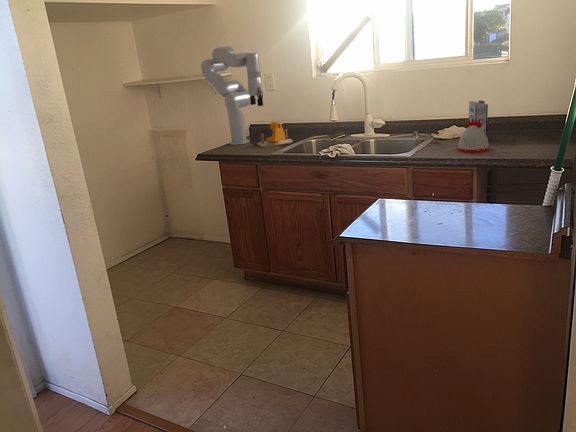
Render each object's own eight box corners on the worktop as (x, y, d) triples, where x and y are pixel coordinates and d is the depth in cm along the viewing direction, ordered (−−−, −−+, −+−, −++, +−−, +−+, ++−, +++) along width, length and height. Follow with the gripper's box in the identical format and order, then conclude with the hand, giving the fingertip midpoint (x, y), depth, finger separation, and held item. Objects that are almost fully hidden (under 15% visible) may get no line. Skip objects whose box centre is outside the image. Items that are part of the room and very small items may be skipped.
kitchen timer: (481, 154, 225) (482, 121, 220) (453, 152, 234) (453, 120, 229) (493, 147, 234) (494, 116, 229) (465, 146, 243) (465, 115, 238)
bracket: (276, 139, 305) (274, 120, 301) (285, 139, 301) (283, 120, 297) (265, 143, 297) (263, 123, 293) (275, 143, 293) (273, 123, 289)
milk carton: (468, 139, 258) (468, 100, 252) (480, 137, 258) (481, 99, 252) (474, 141, 251) (475, 101, 245) (487, 139, 252) (488, 100, 245)
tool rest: (257, 145, 301) (256, 133, 298) (285, 140, 308) (284, 128, 305) (264, 147, 292) (262, 134, 290) (292, 142, 299) (291, 129, 297)
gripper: (242, 75, 289) (245, 105, 295) (254, 76, 275) (257, 107, 281) (253, 74, 292) (256, 103, 298) (266, 75, 278) (269, 105, 284)
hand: (256, 105), depth 289 cm, fingers open, 9 cm apart
